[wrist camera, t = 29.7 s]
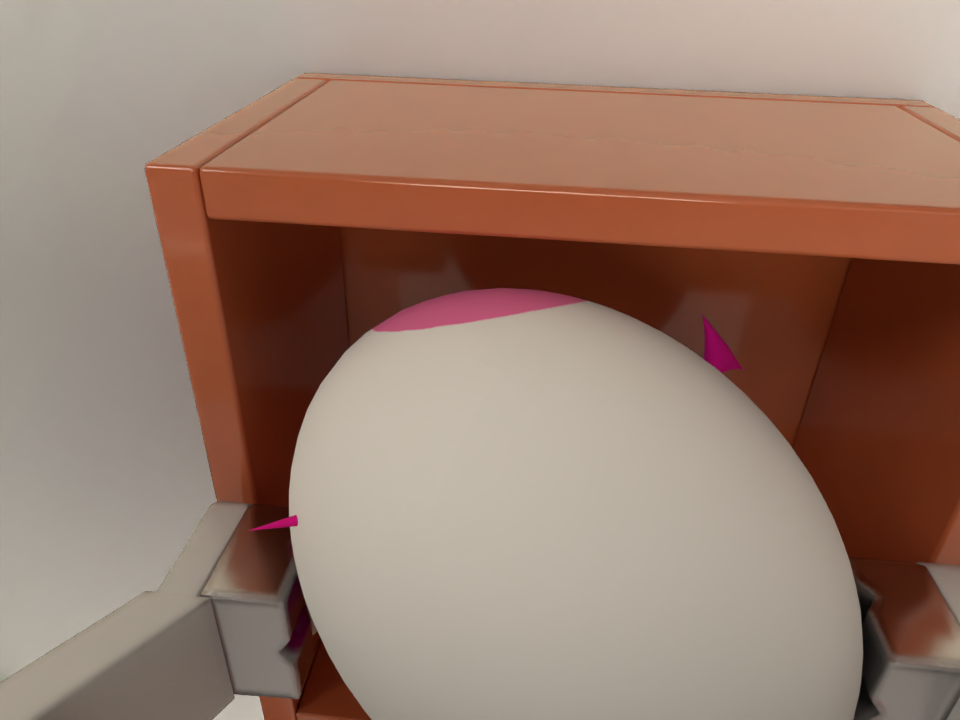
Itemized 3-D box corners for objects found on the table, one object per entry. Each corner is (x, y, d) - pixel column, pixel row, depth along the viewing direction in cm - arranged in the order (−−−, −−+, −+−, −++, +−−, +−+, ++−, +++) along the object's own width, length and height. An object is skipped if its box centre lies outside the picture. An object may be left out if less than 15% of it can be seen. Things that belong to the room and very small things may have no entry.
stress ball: (373, 248, 14) (92, 534, 10) (729, 26, 7) (272, 608, 4) (607, 507, 16) (438, 807, 13) (1037, 519, 9) (914, 1140, 6)
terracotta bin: (345, 516, 18) (264, 730, 13) (302, 72, 12) (141, 163, 8) (775, 555, 17) (854, 799, 12) (924, 99, 12) (1166, 220, 7)
